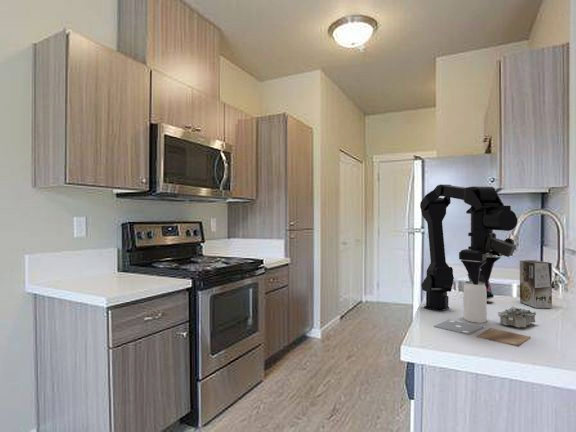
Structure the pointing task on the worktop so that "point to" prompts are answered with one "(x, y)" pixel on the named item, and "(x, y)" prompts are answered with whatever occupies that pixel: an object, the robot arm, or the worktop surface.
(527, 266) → the coffee box
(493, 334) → the walnut mat
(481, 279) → the supplement container
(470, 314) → the can
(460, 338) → the worktop surface
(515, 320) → the egg carton
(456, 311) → the worktop surface
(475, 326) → the slate mat
